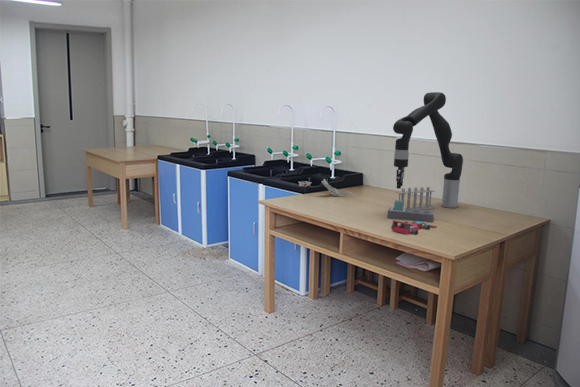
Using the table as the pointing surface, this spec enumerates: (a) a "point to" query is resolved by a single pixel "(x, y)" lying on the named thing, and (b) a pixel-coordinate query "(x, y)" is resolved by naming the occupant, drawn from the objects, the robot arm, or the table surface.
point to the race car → (409, 227)
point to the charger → (398, 205)
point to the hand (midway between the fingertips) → (399, 187)
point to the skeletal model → (333, 190)
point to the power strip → (411, 214)
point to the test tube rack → (416, 198)
